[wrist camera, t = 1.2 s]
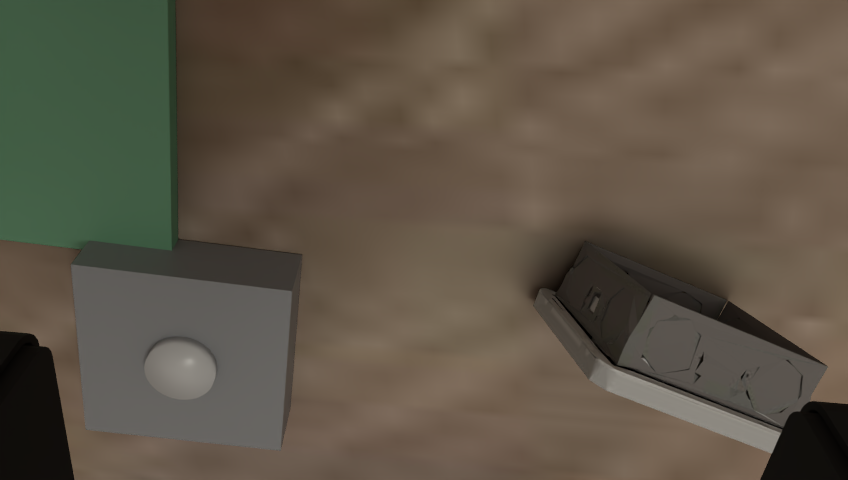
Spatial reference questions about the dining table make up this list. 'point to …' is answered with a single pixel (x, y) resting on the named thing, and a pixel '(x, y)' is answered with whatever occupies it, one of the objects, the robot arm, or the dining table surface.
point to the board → (88, 122)
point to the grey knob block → (187, 341)
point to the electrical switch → (678, 348)
